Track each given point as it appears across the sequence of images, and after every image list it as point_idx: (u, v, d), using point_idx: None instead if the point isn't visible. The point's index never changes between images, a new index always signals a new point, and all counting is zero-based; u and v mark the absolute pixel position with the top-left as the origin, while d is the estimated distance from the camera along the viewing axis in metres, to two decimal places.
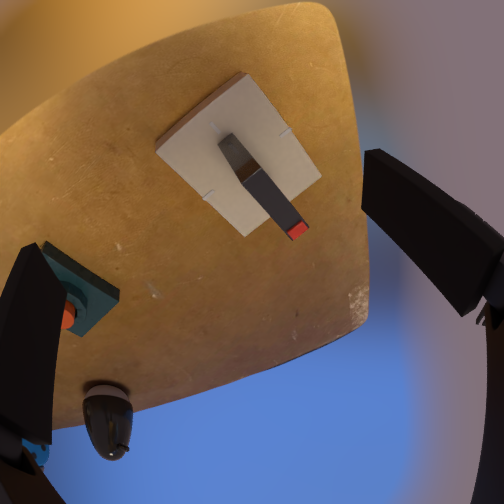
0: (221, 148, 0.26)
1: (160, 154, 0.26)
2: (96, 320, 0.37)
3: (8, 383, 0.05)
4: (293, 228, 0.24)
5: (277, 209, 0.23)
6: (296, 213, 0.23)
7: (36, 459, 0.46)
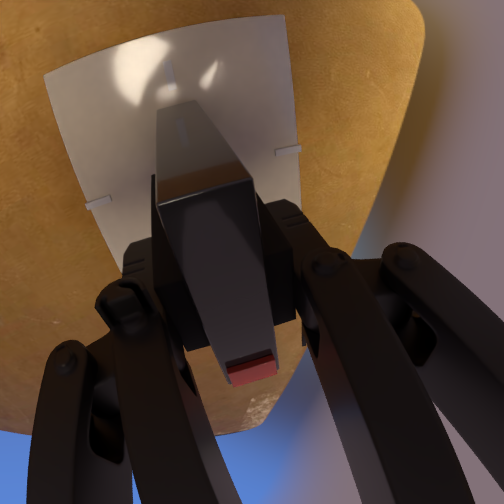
0: (159, 115, 0.11)
1: (49, 84, 0.09)
2: None
3: None
4: (246, 367, 0.09)
5: (231, 319, 0.08)
6: (270, 339, 0.09)
7: None
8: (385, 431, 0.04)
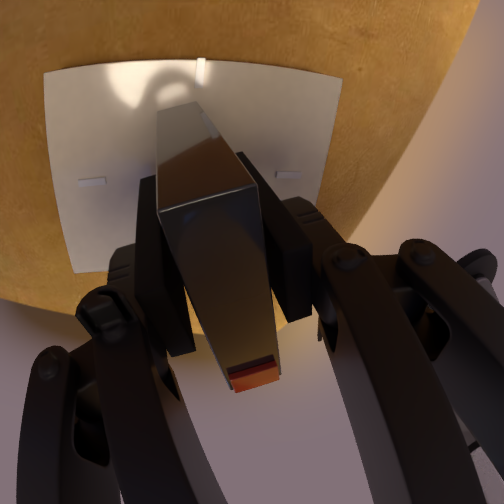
0: (160, 117, 0.11)
1: (333, 80, 0.13)
2: None
3: (170, 277, 0.08)
4: (248, 374, 0.09)
5: (233, 326, 0.07)
6: (273, 346, 0.08)
7: None
8: (401, 424, 0.04)
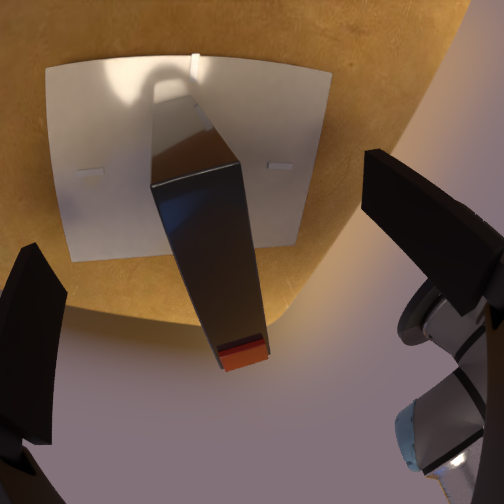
0: (156, 109, 0.11)
1: (323, 74, 0.13)
2: None
3: (8, 383, 0.05)
4: (237, 351, 0.09)
5: (222, 300, 0.08)
6: (261, 323, 0.09)
7: None
8: None
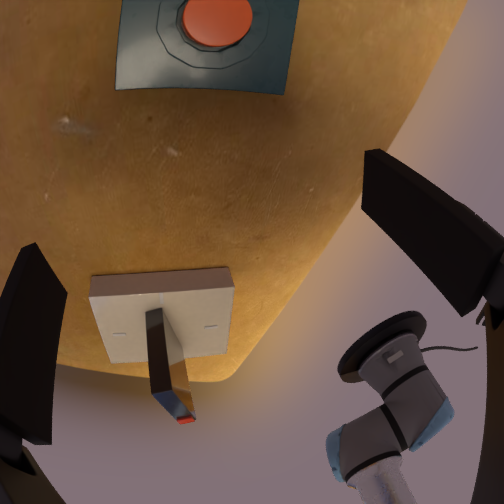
0: (147, 324, 0.27)
1: (229, 289, 0.29)
2: (124, 19, 0.14)
3: (8, 383, 0.05)
4: (182, 419, 0.25)
5: (174, 409, 0.23)
6: (189, 412, 0.24)
7: None
8: None
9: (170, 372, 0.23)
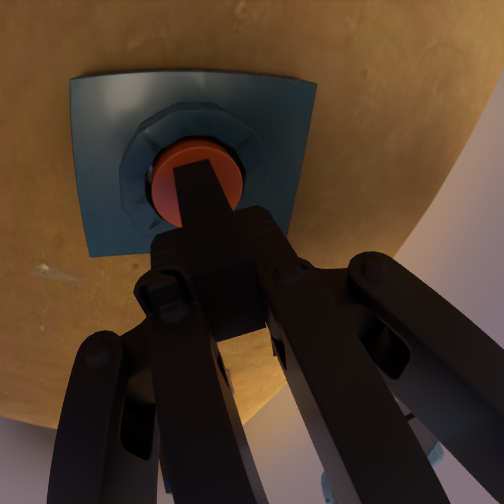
0: None
1: None
2: (81, 174, 0.13)
3: None
4: None
5: None
6: None
7: None
8: (353, 447, 0.04)
9: None
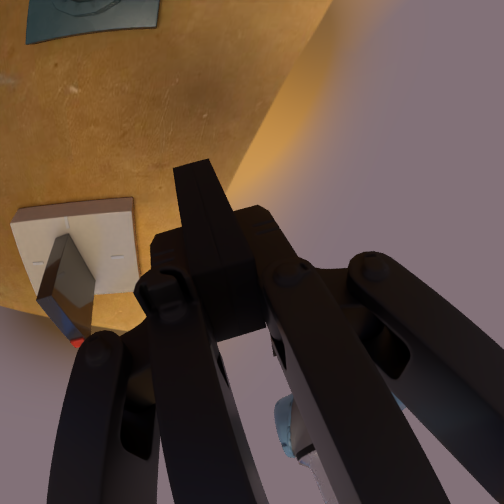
0: (53, 246, 0.26)
1: (126, 213, 0.28)
2: None
3: None
4: (75, 340, 0.24)
5: (63, 324, 0.23)
6: (78, 332, 0.24)
7: None
8: (353, 447, 0.04)
9: (56, 282, 0.22)
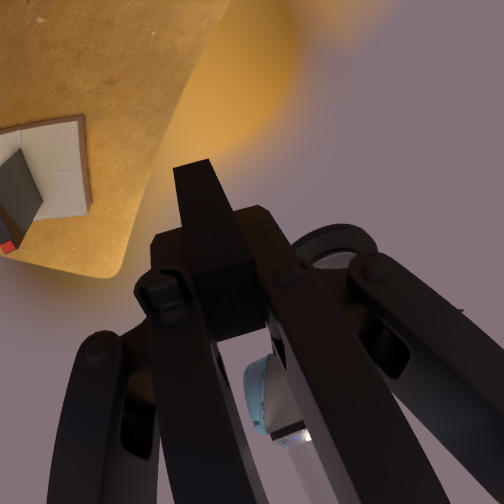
0: (4, 158, 0.22)
1: (72, 123, 0.25)
2: None
3: None
4: (4, 243, 0.20)
5: None
6: (7, 231, 0.20)
7: None
8: (353, 447, 0.04)
9: None
